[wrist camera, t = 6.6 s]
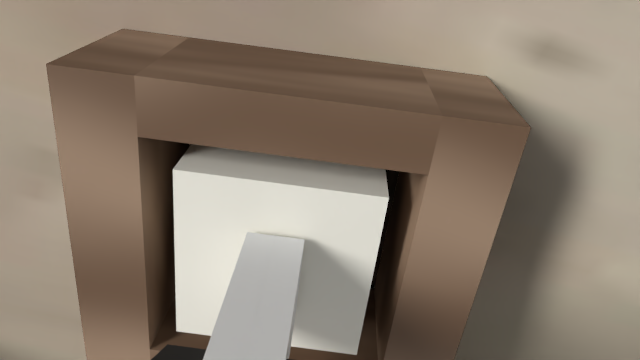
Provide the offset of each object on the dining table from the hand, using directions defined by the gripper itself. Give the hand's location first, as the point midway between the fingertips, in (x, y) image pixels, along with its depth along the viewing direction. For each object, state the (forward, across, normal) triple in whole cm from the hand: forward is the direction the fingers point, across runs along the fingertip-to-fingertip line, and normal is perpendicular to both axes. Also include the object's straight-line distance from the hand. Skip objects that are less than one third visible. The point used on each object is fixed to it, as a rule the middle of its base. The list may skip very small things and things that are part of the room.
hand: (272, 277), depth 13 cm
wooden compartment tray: (+4, 0, -8) cm, 9 cm away
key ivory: (+4, 0, 0) cm, 4 cm away
